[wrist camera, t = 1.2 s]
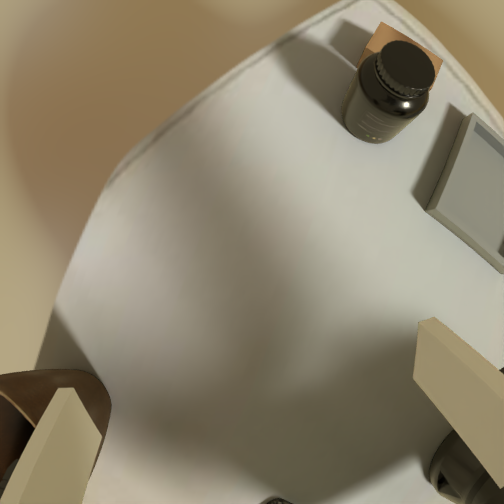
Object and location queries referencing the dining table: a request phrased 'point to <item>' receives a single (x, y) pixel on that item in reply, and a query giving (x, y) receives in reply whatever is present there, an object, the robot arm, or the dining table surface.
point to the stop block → (390, 34)
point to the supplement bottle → (388, 92)
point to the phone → (278, 501)
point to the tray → (474, 191)
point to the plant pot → (44, 406)
